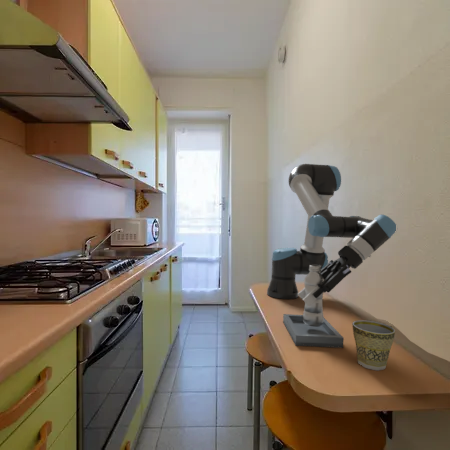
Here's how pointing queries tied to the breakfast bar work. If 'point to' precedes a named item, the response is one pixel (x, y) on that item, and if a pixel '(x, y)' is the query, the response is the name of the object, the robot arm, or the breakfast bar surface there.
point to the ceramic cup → (373, 343)
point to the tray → (312, 333)
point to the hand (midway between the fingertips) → (302, 299)
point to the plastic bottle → (315, 310)
